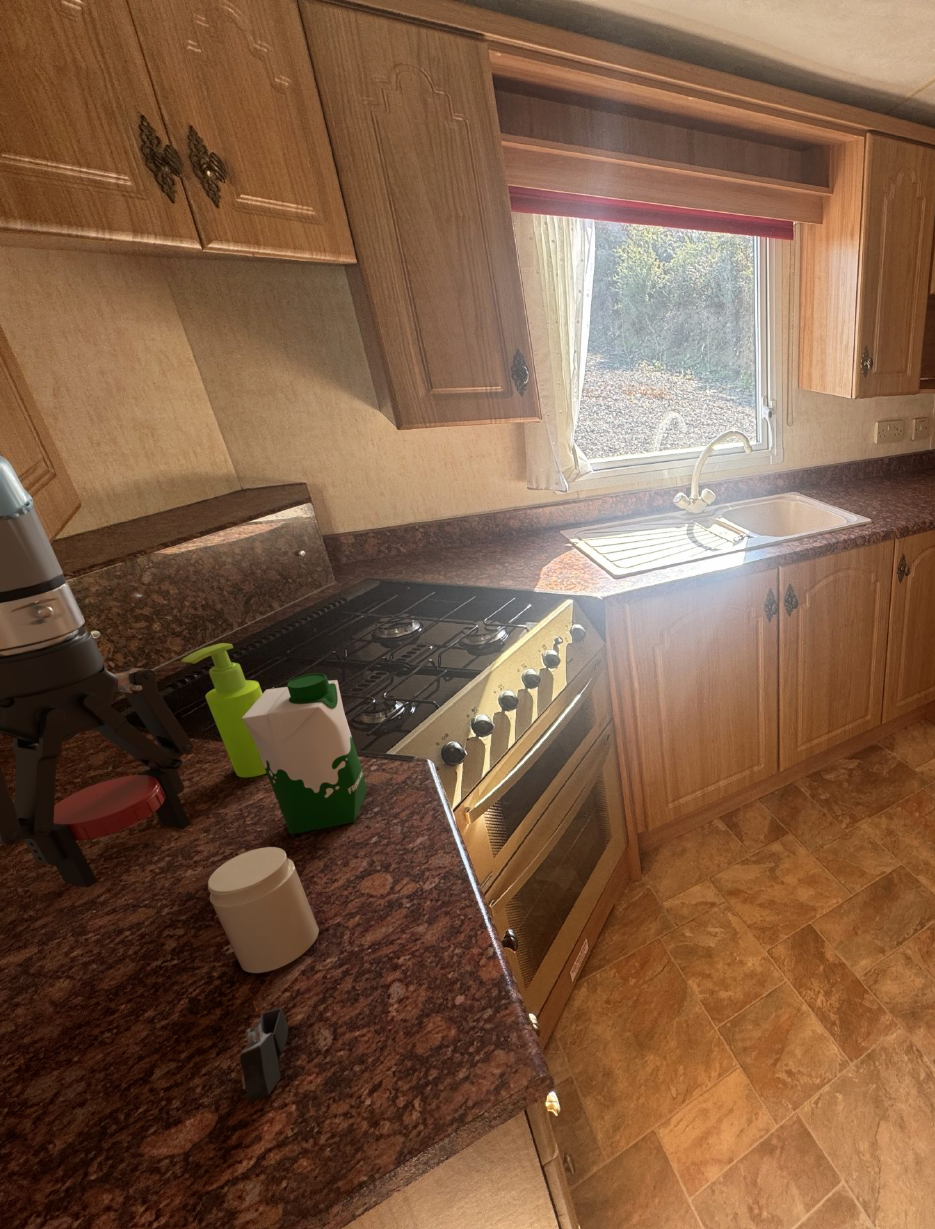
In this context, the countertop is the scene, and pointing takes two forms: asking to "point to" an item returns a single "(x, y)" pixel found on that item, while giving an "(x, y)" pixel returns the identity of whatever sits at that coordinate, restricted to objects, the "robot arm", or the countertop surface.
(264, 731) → the milk carton
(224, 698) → the soap dispenser
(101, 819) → the jam lid
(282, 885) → the jam jar
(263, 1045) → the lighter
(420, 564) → the countertop surface
